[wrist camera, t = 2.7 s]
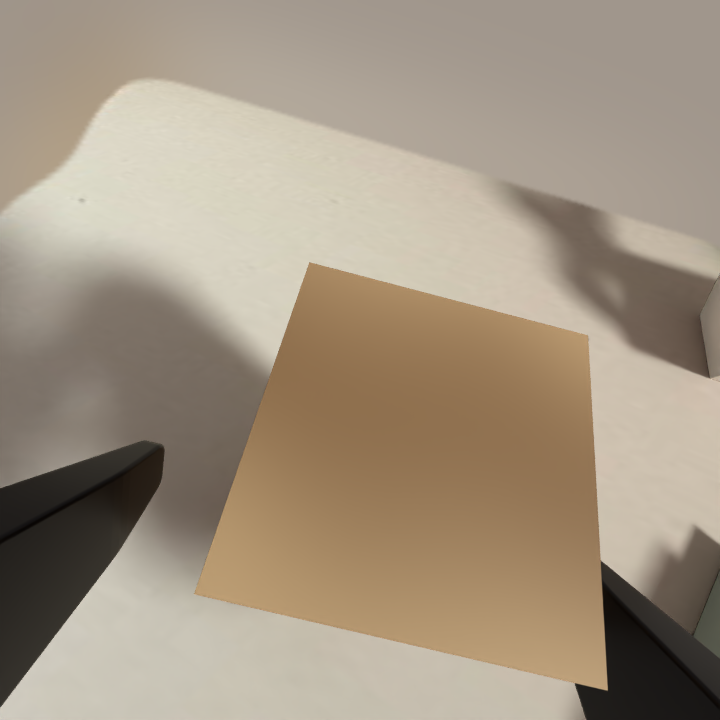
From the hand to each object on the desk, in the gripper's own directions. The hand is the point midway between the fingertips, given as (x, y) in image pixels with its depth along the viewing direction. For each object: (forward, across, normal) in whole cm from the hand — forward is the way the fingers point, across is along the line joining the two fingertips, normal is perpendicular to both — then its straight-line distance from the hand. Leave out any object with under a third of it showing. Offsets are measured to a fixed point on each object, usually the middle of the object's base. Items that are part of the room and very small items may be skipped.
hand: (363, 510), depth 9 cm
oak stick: (+6, 0, +6) cm, 8 cm away
